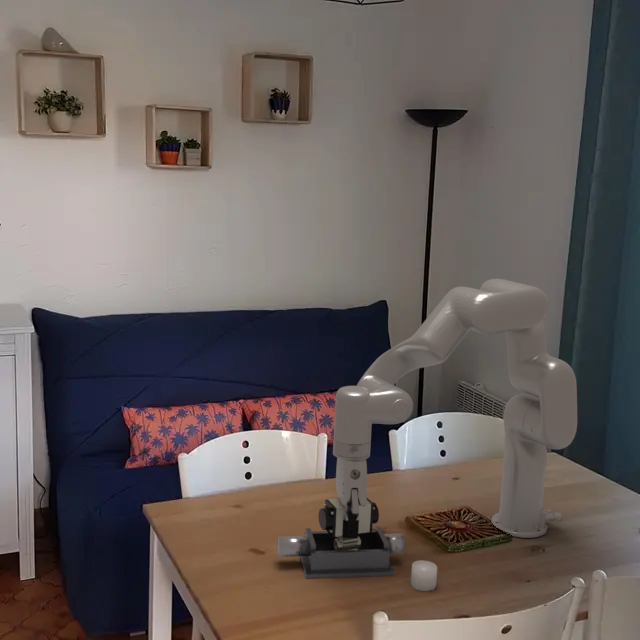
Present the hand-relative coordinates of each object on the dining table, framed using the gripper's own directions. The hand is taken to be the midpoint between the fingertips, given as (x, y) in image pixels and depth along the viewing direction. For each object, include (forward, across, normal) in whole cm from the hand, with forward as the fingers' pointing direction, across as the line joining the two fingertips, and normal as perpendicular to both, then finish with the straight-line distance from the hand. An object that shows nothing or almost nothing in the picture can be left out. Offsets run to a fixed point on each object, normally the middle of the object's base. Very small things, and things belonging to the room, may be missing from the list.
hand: (347, 530), depth 173 cm
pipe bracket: (+7, 0, 0) cm, 7 cm away
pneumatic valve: (+5, 0, 0) cm, 5 cm away
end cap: (+7, -10, -14) cm, 19 cm away
